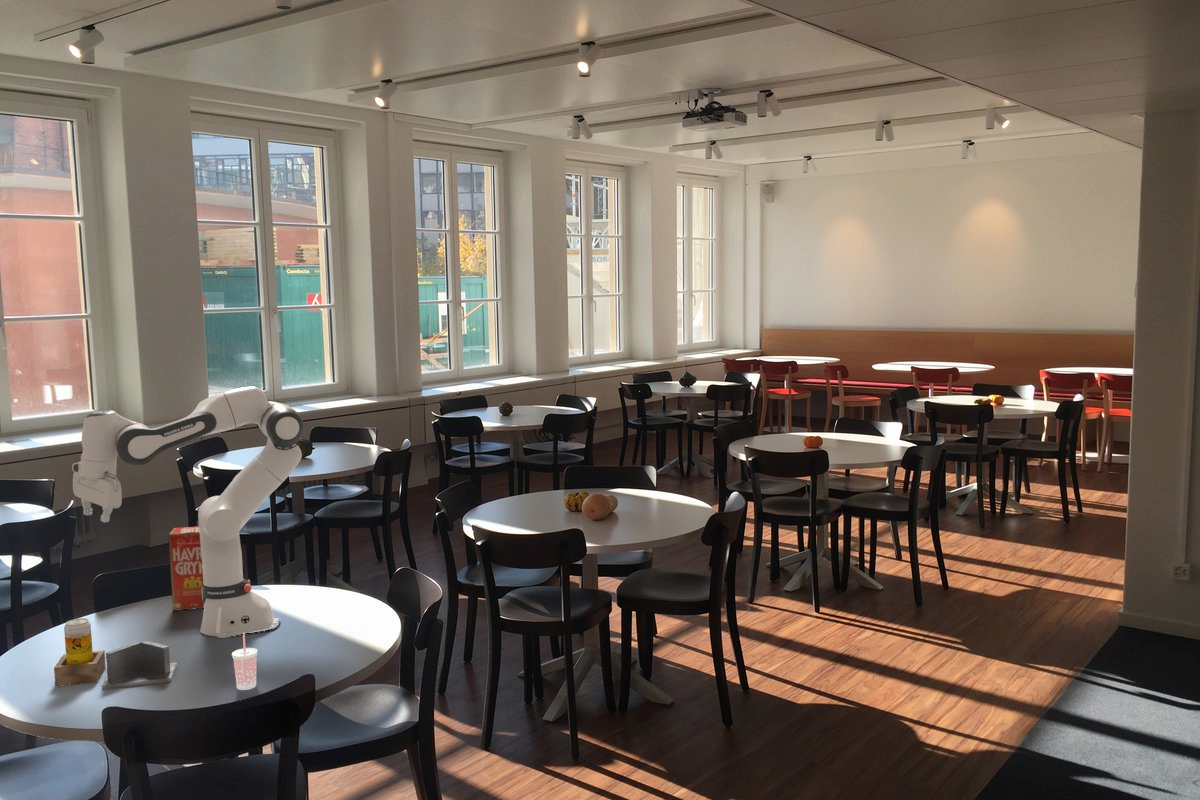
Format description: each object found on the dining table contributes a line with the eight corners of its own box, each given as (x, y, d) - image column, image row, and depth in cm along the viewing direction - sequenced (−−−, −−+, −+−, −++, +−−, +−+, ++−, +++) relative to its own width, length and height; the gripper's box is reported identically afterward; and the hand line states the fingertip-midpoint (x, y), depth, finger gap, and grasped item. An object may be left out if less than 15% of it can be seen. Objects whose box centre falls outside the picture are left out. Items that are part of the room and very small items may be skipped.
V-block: (176, 665, 262) (175, 637, 261) (170, 681, 251) (168, 651, 250) (111, 673, 257) (109, 643, 256) (102, 689, 246) (99, 659, 245)
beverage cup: (262, 681, 250) (259, 628, 249) (255, 690, 244) (252, 636, 243) (238, 682, 250) (235, 629, 248) (230, 691, 244) (227, 637, 242)
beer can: (67, 683, 251) (63, 626, 249) (68, 675, 256) (64, 620, 254) (94, 679, 253) (90, 622, 252) (94, 671, 259) (90, 616, 257)
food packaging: (171, 611, 308) (166, 533, 306) (178, 602, 317) (173, 526, 315) (216, 608, 311) (211, 531, 308) (221, 599, 320) (217, 524, 317)
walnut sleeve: (105, 668, 261) (104, 650, 260) (97, 682, 251) (96, 663, 251) (64, 672, 258) (63, 654, 257) (55, 686, 249) (54, 667, 248)
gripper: (129, 474, 265) (126, 524, 267) (91, 462, 277) (89, 509, 279) (106, 476, 260) (103, 527, 262) (69, 463, 272) (67, 512, 274)
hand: (96, 518), depth 270 cm, fingers open, 8 cm apart
